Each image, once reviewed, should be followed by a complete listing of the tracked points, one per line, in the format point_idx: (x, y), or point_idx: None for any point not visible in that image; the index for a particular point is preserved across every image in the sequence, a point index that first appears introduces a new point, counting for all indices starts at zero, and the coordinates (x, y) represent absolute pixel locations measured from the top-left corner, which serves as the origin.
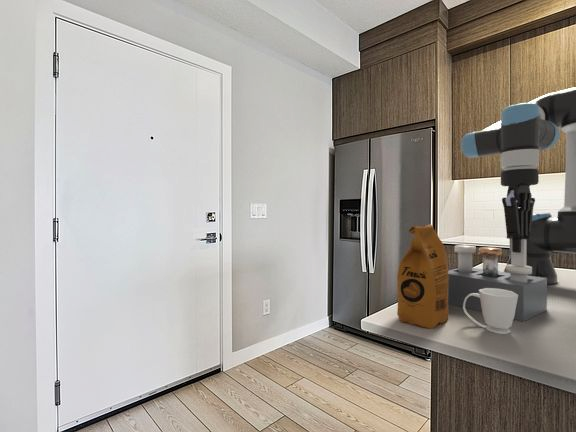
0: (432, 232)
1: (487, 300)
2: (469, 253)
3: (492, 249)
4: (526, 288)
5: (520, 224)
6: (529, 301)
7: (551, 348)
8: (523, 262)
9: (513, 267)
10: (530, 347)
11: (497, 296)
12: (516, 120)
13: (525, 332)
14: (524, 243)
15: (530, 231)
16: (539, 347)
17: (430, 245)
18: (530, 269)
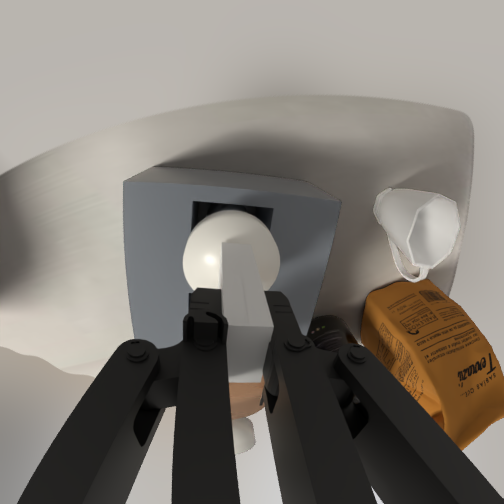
0: (453, 436)
1: (444, 238)
2: None
3: (252, 386)
4: (315, 196)
5: (343, 431)
6: (281, 183)
7: (417, 126)
8: (252, 253)
9: (278, 270)
10: (429, 152)
11: (459, 224)
12: None
13: (373, 165)
14: (259, 308)
15: (116, 362)
16: (423, 141)
17: (466, 397)
18: (244, 217)
